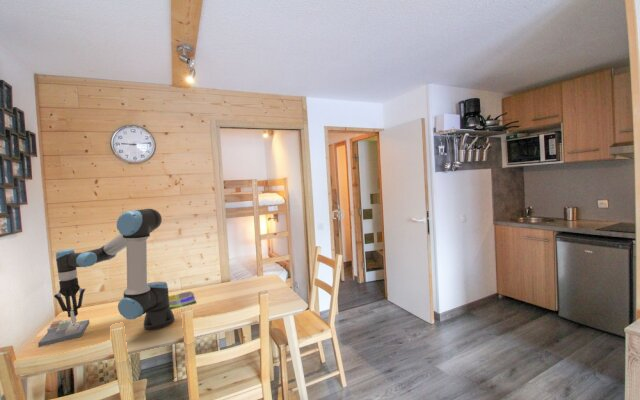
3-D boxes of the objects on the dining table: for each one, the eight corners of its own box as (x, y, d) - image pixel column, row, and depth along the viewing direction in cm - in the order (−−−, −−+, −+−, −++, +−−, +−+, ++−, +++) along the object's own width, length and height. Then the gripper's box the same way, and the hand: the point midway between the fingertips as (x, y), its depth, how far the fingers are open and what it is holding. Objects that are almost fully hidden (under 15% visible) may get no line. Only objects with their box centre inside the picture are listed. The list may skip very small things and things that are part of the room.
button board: (81, 336, 156) (80, 329, 156) (38, 346, 148) (37, 339, 148) (89, 322, 174) (88, 316, 174) (51, 331, 166) (50, 324, 166)
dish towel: (166, 311, 183) (166, 307, 183) (165, 300, 204) (165, 296, 204) (196, 304, 191) (196, 300, 191) (193, 293, 213) (192, 290, 213)
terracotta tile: (60, 327, 163) (59, 322, 163) (51, 329, 161) (50, 324, 161) (62, 324, 166) (62, 319, 166) (53, 327, 164) (52, 321, 164)
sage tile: (68, 327, 160) (68, 321, 160) (59, 329, 158) (58, 323, 158) (70, 324, 163) (70, 319, 163) (61, 326, 162) (60, 321, 161)
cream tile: (78, 330, 157) (77, 324, 157) (68, 332, 155) (67, 327, 155) (79, 327, 161) (79, 322, 160) (70, 329, 159) (69, 324, 159)
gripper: (85, 274, 163) (90, 316, 164) (54, 280, 157) (60, 323, 158) (82, 277, 156) (87, 321, 157) (50, 283, 150) (55, 328, 151)
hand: (74, 322), depth 158 cm, fingers closed
